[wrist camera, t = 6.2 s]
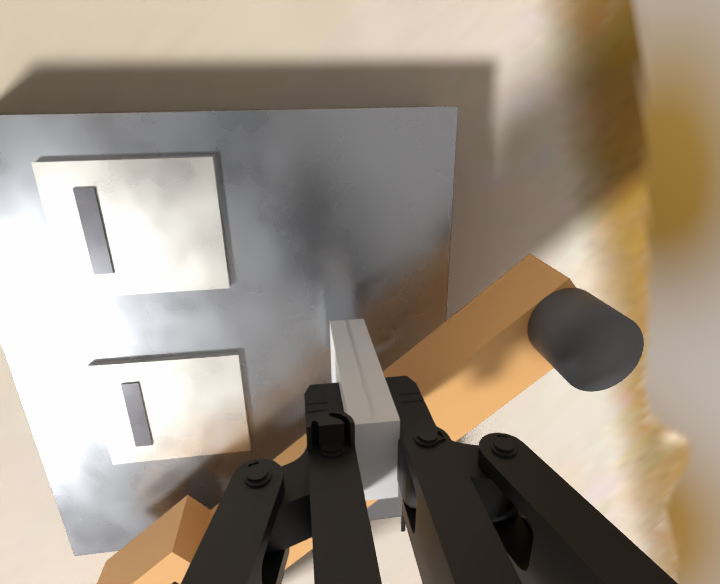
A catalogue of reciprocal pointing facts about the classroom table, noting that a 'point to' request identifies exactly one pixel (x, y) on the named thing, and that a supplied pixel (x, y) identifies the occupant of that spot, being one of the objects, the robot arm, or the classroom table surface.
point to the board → (206, 287)
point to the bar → (446, 388)
